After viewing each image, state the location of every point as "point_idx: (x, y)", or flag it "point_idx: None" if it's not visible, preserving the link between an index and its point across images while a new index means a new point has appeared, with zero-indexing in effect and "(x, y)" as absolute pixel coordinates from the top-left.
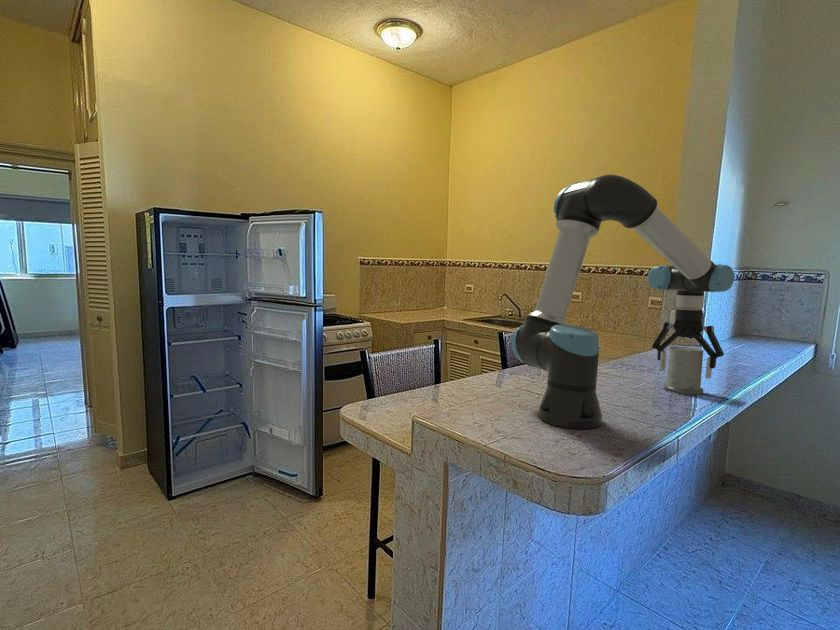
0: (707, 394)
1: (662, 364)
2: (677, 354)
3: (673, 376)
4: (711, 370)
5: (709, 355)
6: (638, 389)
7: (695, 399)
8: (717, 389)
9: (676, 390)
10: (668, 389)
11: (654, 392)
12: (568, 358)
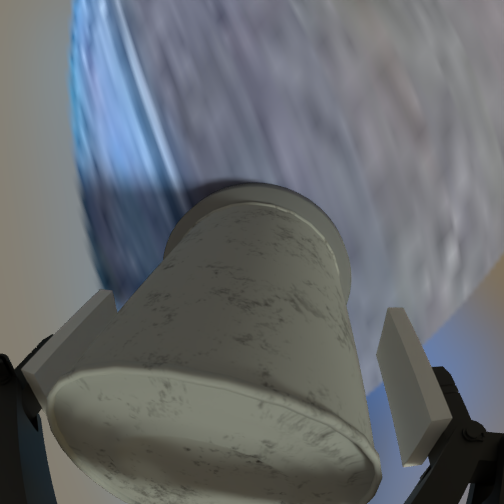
0: None
1: (398, 341)
2: (229, 333)
3: (281, 231)
4: None
5: (14, 387)
6: (429, 115)
7: (152, 149)
8: None
9: (255, 186)
10: (304, 198)
11: (348, 113)
12: None
